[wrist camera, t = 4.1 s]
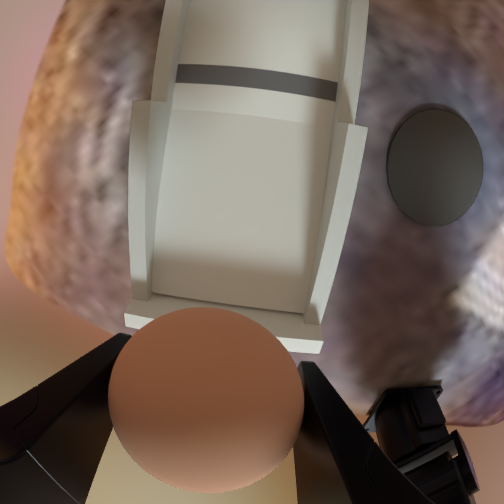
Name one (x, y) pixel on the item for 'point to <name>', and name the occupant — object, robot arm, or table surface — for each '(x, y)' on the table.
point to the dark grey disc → (434, 167)
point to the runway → (247, 161)
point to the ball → (206, 399)
